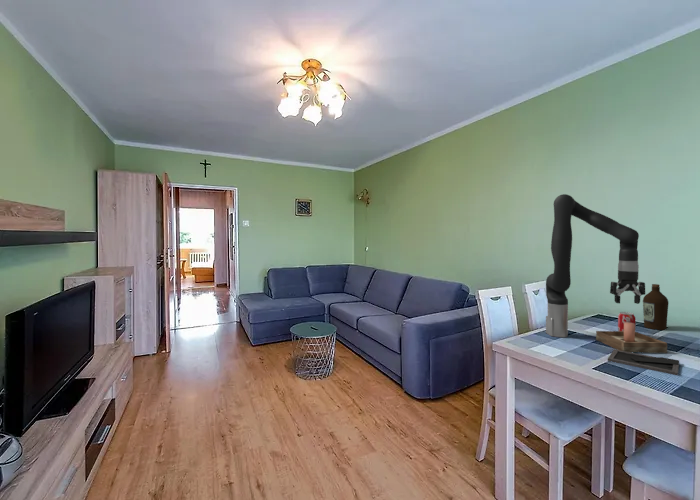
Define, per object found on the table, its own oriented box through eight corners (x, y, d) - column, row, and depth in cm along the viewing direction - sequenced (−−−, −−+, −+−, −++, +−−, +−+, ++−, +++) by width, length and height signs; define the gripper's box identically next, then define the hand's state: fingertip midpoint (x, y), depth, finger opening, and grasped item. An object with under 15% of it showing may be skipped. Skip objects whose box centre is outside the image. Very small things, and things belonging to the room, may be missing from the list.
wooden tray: (623, 352, 147) (623, 342, 147) (596, 339, 165) (596, 331, 165) (666, 352, 145) (667, 343, 145) (634, 340, 164) (634, 331, 164)
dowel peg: (627, 347, 154) (628, 324, 153) (621, 344, 158) (621, 322, 157) (636, 347, 153) (637, 324, 153) (630, 344, 157) (630, 322, 157)
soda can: (639, 337, 168) (639, 314, 167) (625, 337, 168) (625, 314, 167) (627, 333, 175) (627, 311, 174) (614, 333, 175) (614, 311, 175)
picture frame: (679, 365, 133) (614, 352, 149) (679, 360, 133) (614, 348, 148) (677, 377, 122) (607, 362, 138) (677, 371, 122) (607, 357, 138)
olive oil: (656, 325, 189) (656, 283, 188) (673, 330, 179) (674, 285, 178) (637, 325, 190) (638, 283, 189) (653, 330, 179) (654, 285, 178)
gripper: (617, 270, 153) (617, 304, 153) (650, 270, 151) (649, 305, 152) (606, 269, 160) (606, 301, 161) (637, 269, 159) (637, 301, 159)
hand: (627, 303), depth 156 cm, fingers open, 8 cm apart
